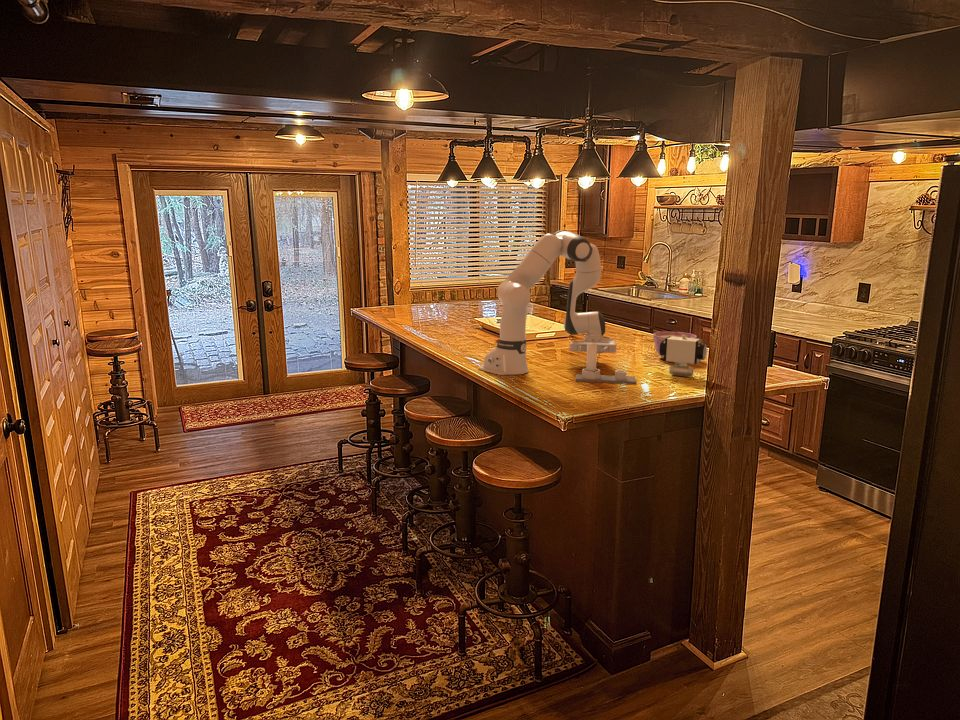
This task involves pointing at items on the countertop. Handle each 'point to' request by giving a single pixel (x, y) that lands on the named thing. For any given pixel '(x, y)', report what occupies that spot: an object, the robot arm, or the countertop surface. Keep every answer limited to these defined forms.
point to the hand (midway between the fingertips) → (592, 350)
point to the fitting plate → (605, 377)
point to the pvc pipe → (591, 357)
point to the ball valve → (682, 353)
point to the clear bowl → (662, 335)
